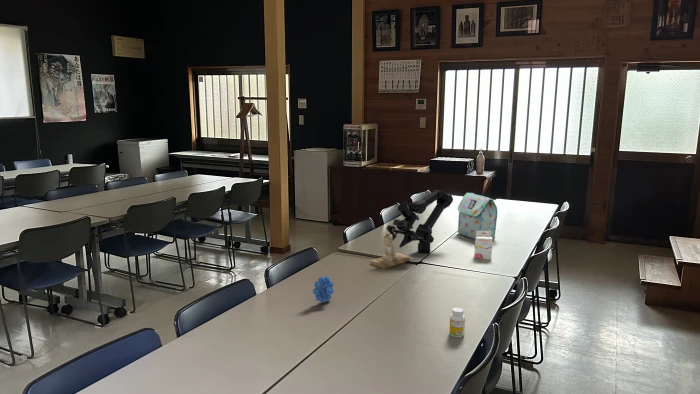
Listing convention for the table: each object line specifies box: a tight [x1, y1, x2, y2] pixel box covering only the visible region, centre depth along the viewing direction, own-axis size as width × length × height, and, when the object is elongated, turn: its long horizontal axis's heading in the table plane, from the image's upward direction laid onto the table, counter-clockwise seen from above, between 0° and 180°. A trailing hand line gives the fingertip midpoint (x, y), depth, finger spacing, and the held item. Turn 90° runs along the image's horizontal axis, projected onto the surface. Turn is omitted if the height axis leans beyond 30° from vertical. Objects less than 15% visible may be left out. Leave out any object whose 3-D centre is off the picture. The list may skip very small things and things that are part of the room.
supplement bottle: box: [449, 307, 466, 338], centre depth 186 cm, size 5×5×10 cm
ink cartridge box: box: [473, 231, 493, 260], centre depth 275 cm, size 9×5×15 cm, turn 84°
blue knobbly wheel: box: [312, 276, 335, 304], centre depth 214 cm, size 12×7×12 cm, turn 138°
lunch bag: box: [457, 192, 498, 240], centre depth 317 cm, size 23×16×27 cm
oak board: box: [370, 252, 411, 269], centre depth 269 cm, size 20×10×2 cm, turn 132°
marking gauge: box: [382, 231, 398, 261], centre depth 267 cm, size 5×6×14 cm
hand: (394, 245), depth 269 cm, fingers open, 8 cm apart
